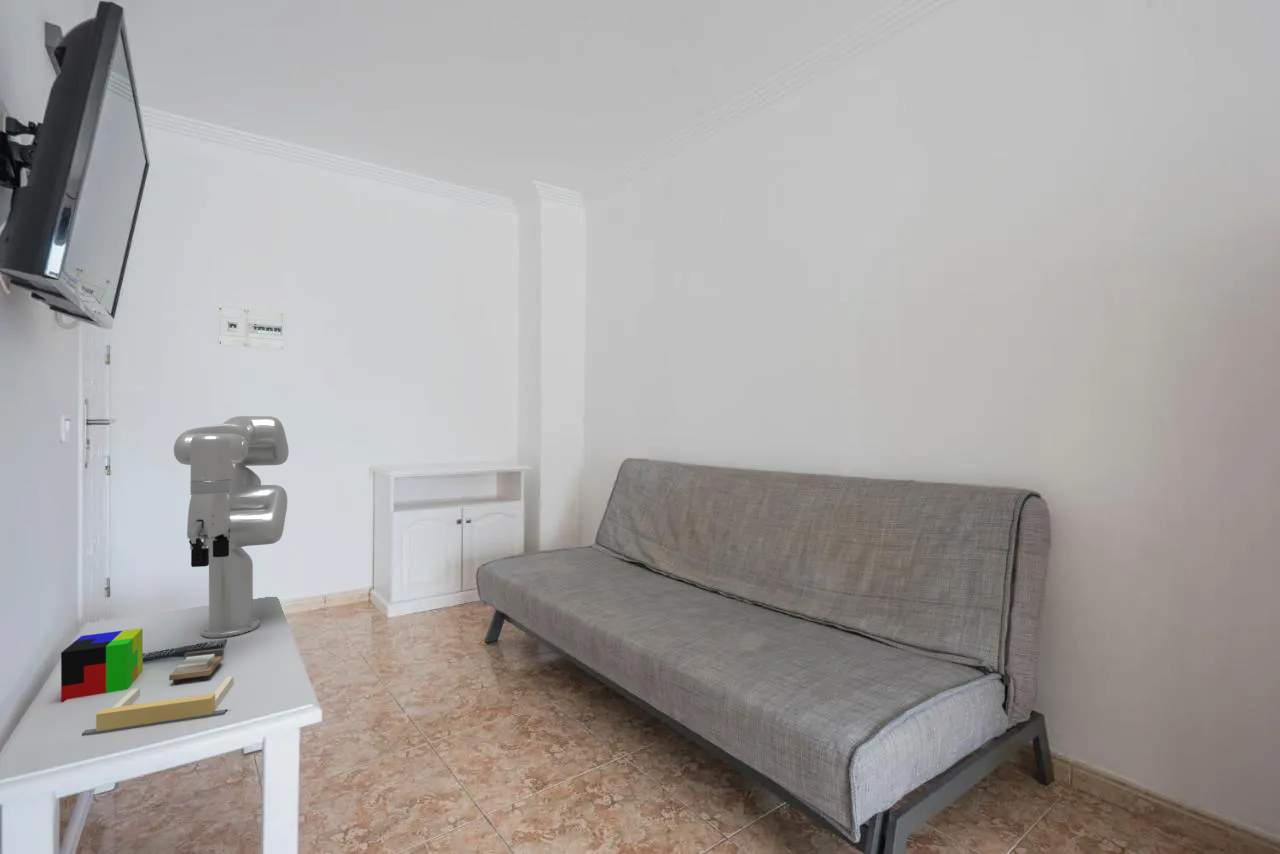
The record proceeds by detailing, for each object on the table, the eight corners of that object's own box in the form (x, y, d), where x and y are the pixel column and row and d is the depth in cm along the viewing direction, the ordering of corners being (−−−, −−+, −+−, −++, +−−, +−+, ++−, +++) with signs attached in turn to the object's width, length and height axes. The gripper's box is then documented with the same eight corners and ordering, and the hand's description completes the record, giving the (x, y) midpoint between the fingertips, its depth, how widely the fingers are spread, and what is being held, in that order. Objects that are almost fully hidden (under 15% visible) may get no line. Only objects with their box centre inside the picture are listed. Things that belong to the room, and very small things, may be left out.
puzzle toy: (81, 682, 121) (81, 635, 121) (142, 673, 126) (142, 628, 126) (61, 703, 112) (61, 652, 112) (127, 692, 117) (127, 643, 117)
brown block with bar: (186, 668, 127) (186, 652, 127) (223, 664, 129) (223, 648, 129) (169, 686, 118) (169, 668, 118) (209, 680, 121) (209, 663, 121)
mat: (147, 674, 125) (147, 659, 125) (260, 660, 132) (260, 646, 132) (81, 735, 100) (81, 716, 100) (224, 714, 108) (224, 696, 108)
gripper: (210, 484, 140) (210, 554, 140) (171, 492, 123) (171, 571, 123) (245, 483, 142) (245, 552, 142) (211, 491, 125) (210, 569, 125)
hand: (210, 561), depth 132 cm, fingers open, 9 cm apart
